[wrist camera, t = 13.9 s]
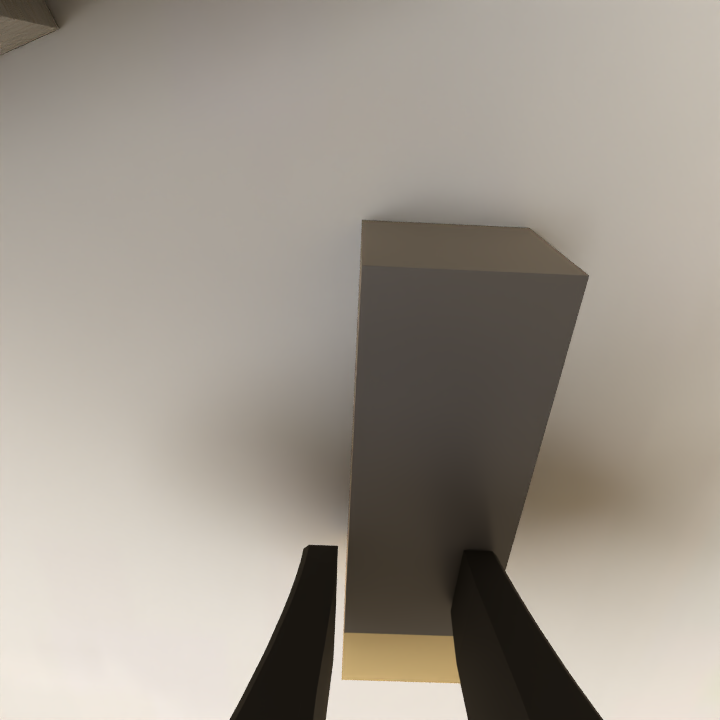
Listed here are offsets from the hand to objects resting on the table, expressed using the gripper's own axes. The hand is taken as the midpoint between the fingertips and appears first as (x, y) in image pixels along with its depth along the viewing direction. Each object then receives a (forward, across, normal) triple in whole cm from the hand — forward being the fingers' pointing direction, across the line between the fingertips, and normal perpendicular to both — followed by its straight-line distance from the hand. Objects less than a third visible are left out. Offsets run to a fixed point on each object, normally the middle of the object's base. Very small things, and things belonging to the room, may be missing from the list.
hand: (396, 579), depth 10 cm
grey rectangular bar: (+3, -1, -1) cm, 3 cm away
